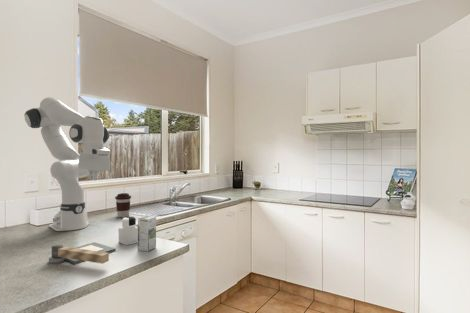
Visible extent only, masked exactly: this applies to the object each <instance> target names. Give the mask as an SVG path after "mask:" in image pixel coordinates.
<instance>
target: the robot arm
mask: <svg viewBox="0 0 470 313" xmlns="http://www.w3.org/2000/svg"><path fill="white" fill-rule="evenodd" d="M24 120H25V122H26V124H27V125H28V127H29V128H32V129H39V128H40V133H41V137H42V140H43V141H44V143H45V145H46V147H47V149H48V150H49V152H50V154H51V156H52V157H53V158H55V159H56V160H57V161H54V162H53V163H52V164H51V166H50V170H49V171H50V175H51V176H52V177H53V178H54V179H55V180H56V181H57V182H58V184H59V187H60V190H61V203H60V204H59V205H60V208H59V209H60V210H59V211H58V212H57V213H56V214H55V215H54V217H53V218H52V222H53V223H51V224H49V225H48V227H49V228H51V229H52V230H54V231H55V232H62V231H63V232H64V231H77V230H82V229H85V228H87V227H88V226H89V225H91V224H90V223H91V222H89V220H88V211H87V210H86V209H85V208H86V202H85V189H84V187H83V186H81V185H80V184H79V181H78V179H81V178H85V177H88V176H89V180H92V181H96V180H98V175H99V173H100V172H108V171H109V170H110V168H111V157H110V155H111V150H110V149H108V148H106V146H105V144H106V143H107V142H108V140H109V139H110V131H109V129H108V128H107V127H106V125H104V121H103V119H102V118H101V117H98V116H94V115H93V116H92V115H91V116H90V115H86V116H85V115H83V114H82V113H81V114H80V113H79V112H77V111H75V110H74V109H72V108H70V107H69V106H67V104H65V103H64V102H63V101H60V100H59V99H57V98H54V97H50V96H49V97H45V98H43V99H41V101H40V103H39V107H35V108H34V107H33V108H30V109H28V110H26V111H25V113H24ZM61 126H63V127H70V128H69V133H68V134H69V138H70V139H71V141H72V142H74V143H76V144H82V148H83V149H82V151H81V152H80V153H79V152H78V151H77V150H76V148H74V147H73V145H72V144H71V142H70V141H69V139H68V137H67V136H66V134H65V133H64V131H63V129H62V127H61Z"/></svg>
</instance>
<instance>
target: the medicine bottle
mask: <svg viewBox="0 0 470 313" xmlns="http://www.w3.org/2000/svg"><path fill="white" fill-rule="evenodd" d="M136 220H137V219H136V217H134V216H127V217H122V220H121V222H122V223H121V224H122V225H121V227H118V243H120V244H122V245H124V246H129V244H130V245H133V244H137V243H138V226H136V222H137V221H136ZM136 242H137V243H136Z"/></svg>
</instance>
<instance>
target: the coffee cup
mask: <svg viewBox="0 0 470 313" xmlns="http://www.w3.org/2000/svg"><path fill="white" fill-rule="evenodd" d="M114 198H115V200H116V202H115V204H116V206H115V207H116V215H117V217H119V218H125V217H130V209H131V199H132V195H130V194H129V193H127V192H126V193H125V192H123V193H118V194H117V195H116V196H115V197H114Z"/></svg>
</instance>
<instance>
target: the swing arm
mask: <svg viewBox="0 0 470 313" xmlns="http://www.w3.org/2000/svg"><path fill="white" fill-rule="evenodd" d="M109 254H110V253H106V252H99V251H92V250H85V249H78V248H76V247H70V246H64V244H60V243H59V244H54V245H51V256H52V258H57V257H64V258H70V259H77V260H83V262H90V263H96V264H103V265H104V264H105V263H106V262H109V260H110V258H109V256H110V255H109Z"/></svg>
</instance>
